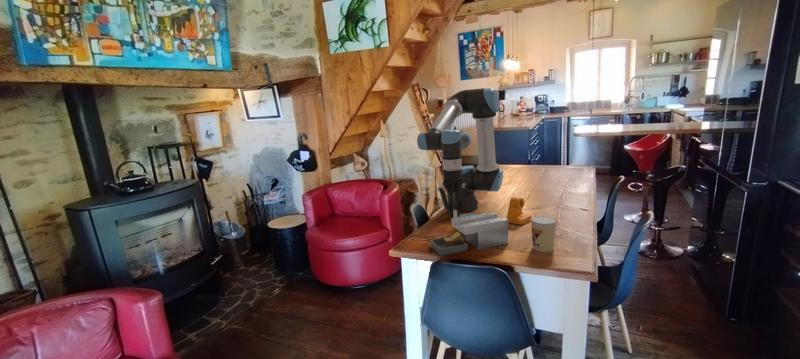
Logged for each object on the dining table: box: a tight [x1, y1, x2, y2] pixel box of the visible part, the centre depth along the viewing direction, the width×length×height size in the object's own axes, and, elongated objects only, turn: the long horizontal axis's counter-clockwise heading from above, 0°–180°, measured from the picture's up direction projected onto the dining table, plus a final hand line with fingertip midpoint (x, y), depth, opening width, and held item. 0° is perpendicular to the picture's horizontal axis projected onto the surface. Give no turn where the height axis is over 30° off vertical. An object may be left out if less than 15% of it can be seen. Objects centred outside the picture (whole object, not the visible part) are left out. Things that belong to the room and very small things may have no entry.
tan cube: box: [450, 230, 466, 245], centre depth 155 cm, size 4×4×4 cm
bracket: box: [506, 196, 532, 226], centre depth 181 cm, size 11×7×12 cm, turn 132°
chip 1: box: [444, 236, 454, 248], centre depth 156 cm, size 4×4×4 cm
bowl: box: [457, 212, 479, 218], centre depth 175 cm, size 11×12×6 cm
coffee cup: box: [530, 215, 557, 253], centre depth 149 cm, size 9×9×12 cm
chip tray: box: [429, 235, 469, 257], centre depth 156 cm, size 11×12×3 cm
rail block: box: [451, 211, 509, 250], centre depth 159 cm, size 12×20×10 cm, turn 107°
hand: (454, 224), depth 155 cm, fingers closed
